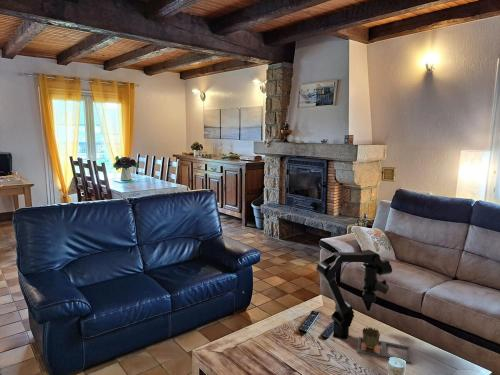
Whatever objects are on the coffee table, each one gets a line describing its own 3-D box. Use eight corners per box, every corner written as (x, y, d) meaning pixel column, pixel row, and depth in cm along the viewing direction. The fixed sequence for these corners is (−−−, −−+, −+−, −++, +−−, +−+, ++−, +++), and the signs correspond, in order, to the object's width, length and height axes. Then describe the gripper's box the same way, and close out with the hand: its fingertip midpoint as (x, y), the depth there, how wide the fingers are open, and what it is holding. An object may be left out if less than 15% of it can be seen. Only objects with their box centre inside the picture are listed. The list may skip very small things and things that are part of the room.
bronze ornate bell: (380, 353, 156) (381, 337, 155) (362, 351, 157) (363, 335, 156) (377, 343, 163) (378, 327, 162) (360, 342, 165) (361, 326, 163)
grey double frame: (356, 352, 157) (357, 350, 157) (358, 338, 167) (358, 336, 167) (411, 364, 149) (411, 361, 149) (409, 348, 160) (409, 346, 159)
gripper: (388, 286, 160) (386, 318, 162) (388, 271, 177) (386, 300, 180) (362, 283, 164) (361, 314, 166) (364, 268, 181) (363, 296, 183)
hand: (368, 306), depth 174 cm, fingers open, 9 cm apart
